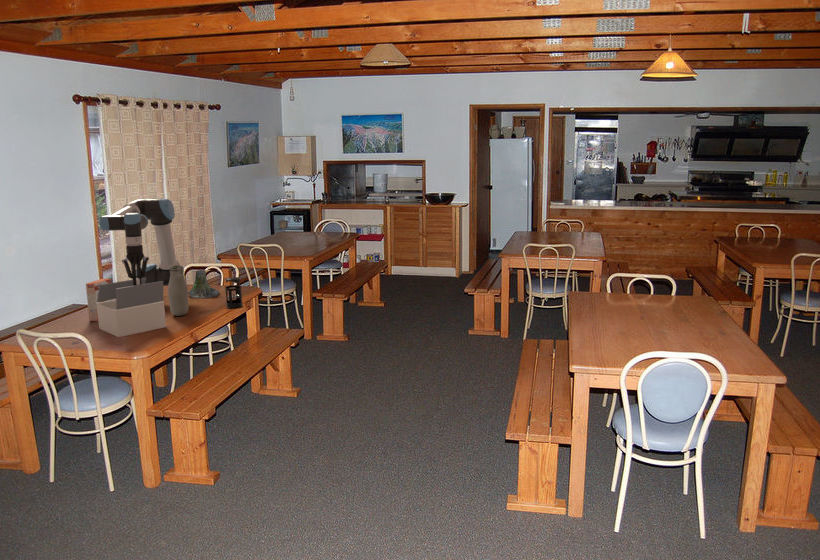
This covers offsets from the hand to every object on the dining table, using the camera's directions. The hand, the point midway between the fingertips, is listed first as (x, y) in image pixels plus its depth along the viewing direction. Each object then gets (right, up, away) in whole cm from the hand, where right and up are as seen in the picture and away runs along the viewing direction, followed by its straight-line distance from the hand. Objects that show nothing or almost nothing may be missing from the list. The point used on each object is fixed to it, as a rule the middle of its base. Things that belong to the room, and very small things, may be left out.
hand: (137, 291), depth 345 cm
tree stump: (+7, -4, +85) cm, 85 cm away
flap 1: (-14, 0, +14) cm, 20 cm away
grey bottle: (+9, -14, +36) cm, 40 cm away
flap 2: (+1, -2, 0) cm, 2 cm away
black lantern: (+35, -10, +54) cm, 65 cm away
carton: (-8, -19, +12) cm, 24 cm away
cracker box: (-32, -16, +31) cm, 47 cm away
